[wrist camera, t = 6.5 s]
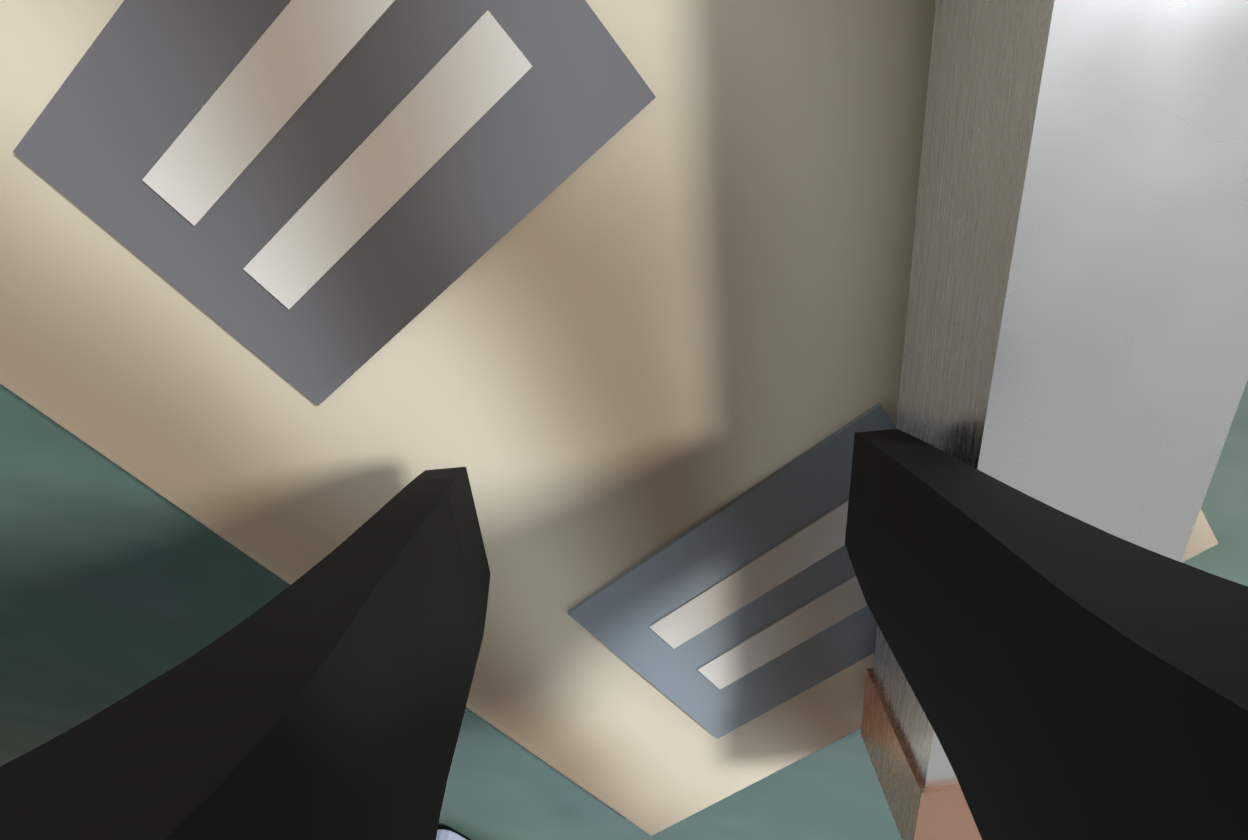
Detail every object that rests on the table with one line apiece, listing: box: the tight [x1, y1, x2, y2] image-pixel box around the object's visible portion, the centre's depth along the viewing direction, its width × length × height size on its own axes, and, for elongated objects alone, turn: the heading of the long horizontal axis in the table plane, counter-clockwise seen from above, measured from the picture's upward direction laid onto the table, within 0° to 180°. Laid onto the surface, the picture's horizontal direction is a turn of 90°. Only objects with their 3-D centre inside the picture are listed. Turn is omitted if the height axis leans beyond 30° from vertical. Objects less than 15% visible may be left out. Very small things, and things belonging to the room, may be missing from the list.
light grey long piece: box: [861, 0, 1248, 840], centre depth 8 cm, size 20×3×5 cm, turn 6°
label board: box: [0, 0, 1218, 836], centre depth 11 cm, size 14×20×1 cm
